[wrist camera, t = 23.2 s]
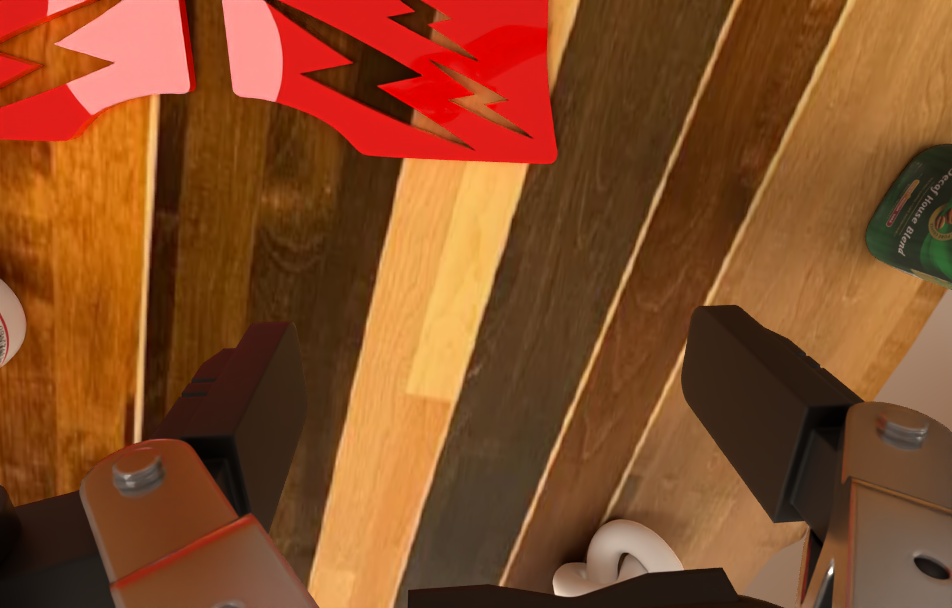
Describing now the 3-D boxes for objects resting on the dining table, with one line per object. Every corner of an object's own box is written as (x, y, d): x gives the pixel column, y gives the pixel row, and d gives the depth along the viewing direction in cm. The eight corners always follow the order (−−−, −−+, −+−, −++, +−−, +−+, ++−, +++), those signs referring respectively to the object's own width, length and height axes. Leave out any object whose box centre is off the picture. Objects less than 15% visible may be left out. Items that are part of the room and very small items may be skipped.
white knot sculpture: (609, 485, 53) (642, 564, 45) (693, 536, 57) (737, 618, 49) (532, 557, 56) (549, 643, 48) (616, 601, 60) (645, 688, 52)
